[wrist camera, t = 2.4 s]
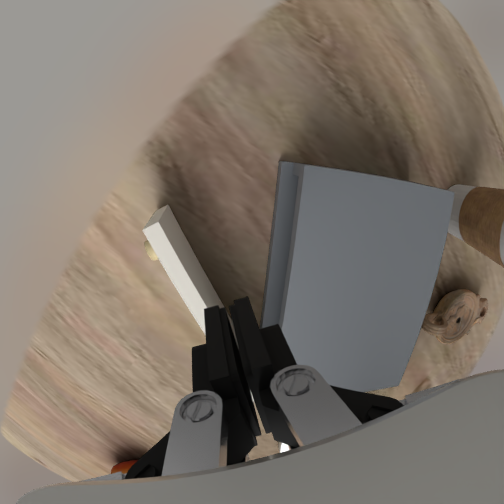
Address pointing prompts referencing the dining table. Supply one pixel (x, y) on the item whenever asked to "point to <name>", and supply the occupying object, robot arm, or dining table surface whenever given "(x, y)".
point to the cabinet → (352, 270)
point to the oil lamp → (455, 315)
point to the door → (181, 264)
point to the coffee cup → (479, 219)
